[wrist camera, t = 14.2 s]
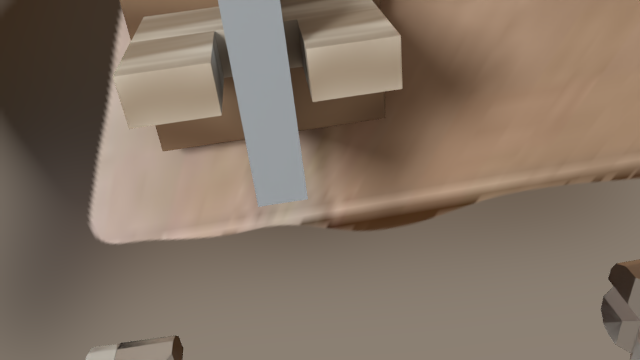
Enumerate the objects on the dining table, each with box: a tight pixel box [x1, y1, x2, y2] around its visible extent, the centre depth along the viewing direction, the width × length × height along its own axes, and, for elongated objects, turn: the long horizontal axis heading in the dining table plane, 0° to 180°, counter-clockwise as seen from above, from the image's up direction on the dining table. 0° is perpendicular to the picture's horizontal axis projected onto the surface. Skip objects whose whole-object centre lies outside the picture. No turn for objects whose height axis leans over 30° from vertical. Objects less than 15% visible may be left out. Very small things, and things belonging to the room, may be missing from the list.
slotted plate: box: [218, 0, 308, 207], centre depth 28 cm, size 12×2×9 cm, turn 6°
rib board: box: [113, 0, 402, 151], centre depth 29 cm, size 14×14×10 cm
